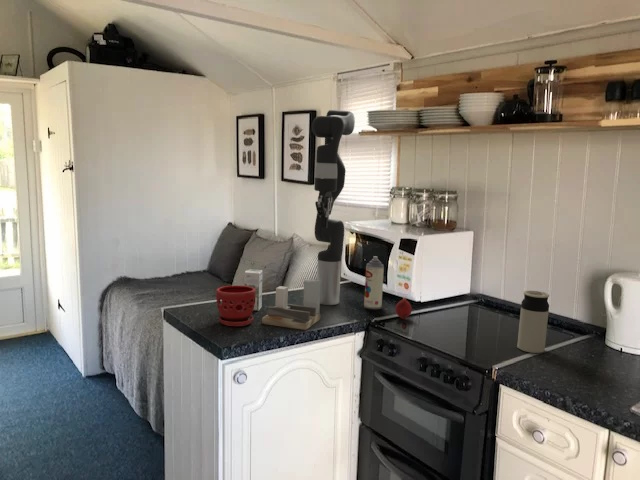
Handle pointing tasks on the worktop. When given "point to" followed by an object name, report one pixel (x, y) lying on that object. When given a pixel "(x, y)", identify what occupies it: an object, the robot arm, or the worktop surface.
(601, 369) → the worktop surface
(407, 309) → the onion
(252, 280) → the syrup box
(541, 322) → the travel mug
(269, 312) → the switch plate
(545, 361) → the worktop surface
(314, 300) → the skincare box
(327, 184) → the robot arm
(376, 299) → the aerosol can
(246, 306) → the plant pot
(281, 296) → the switch knob
